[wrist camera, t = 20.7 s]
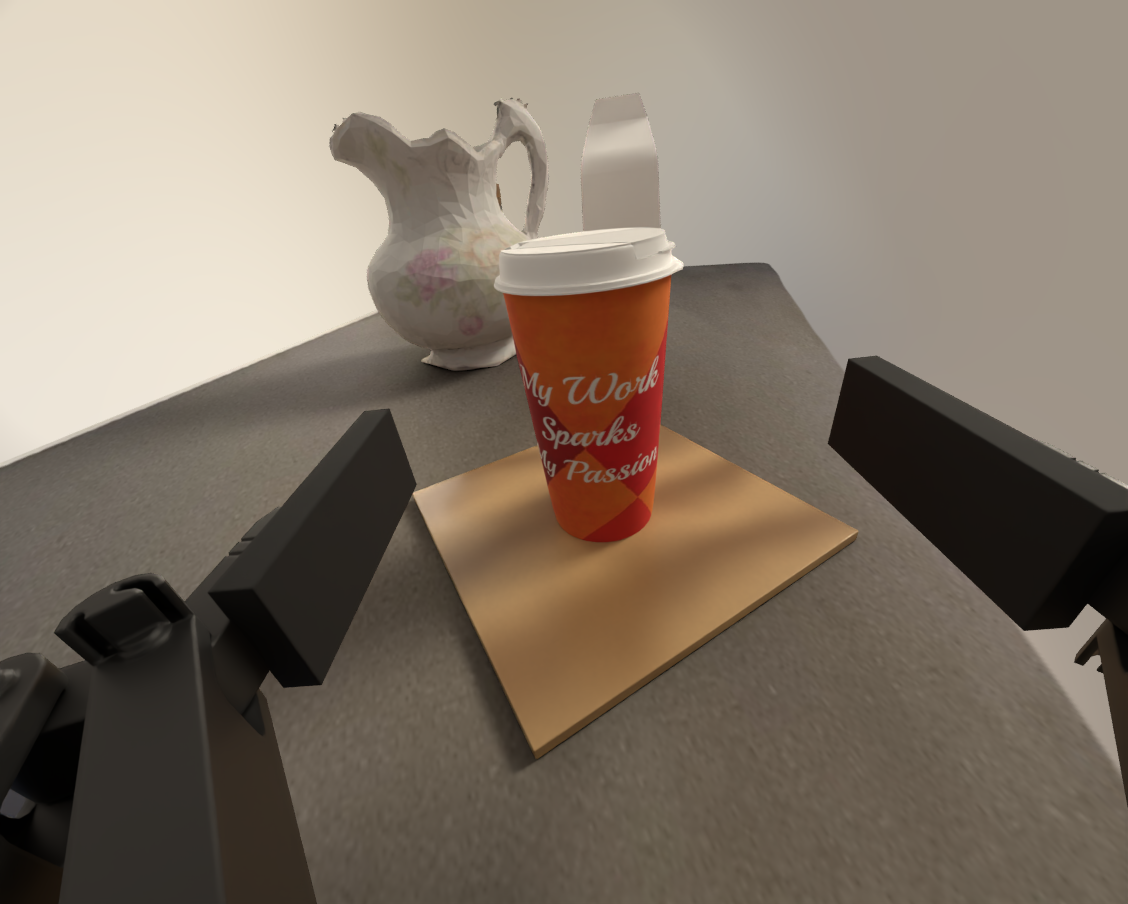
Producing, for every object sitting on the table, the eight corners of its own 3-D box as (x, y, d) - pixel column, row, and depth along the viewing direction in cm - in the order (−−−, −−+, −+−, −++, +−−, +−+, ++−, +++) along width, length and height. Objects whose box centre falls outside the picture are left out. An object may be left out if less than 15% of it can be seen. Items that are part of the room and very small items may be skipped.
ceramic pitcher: (518, 327, 66) (477, 129, 55) (605, 338, 52) (575, 73, 40) (380, 371, 56) (292, 137, 44) (442, 401, 41) (335, 65, 30)
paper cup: (520, 552, 22) (456, 262, 15) (553, 469, 29) (518, 236, 21) (676, 563, 21) (688, 241, 13) (674, 472, 27) (681, 219, 20)
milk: (586, 305, 69) (569, 97, 55) (590, 289, 78) (577, 109, 65) (663, 298, 67) (665, 81, 53) (658, 283, 77) (659, 96, 63)
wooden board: (856, 539, 21) (859, 530, 21) (536, 760, 15) (533, 752, 14) (632, 415, 35) (632, 408, 35) (414, 500, 28) (411, 492, 28)
